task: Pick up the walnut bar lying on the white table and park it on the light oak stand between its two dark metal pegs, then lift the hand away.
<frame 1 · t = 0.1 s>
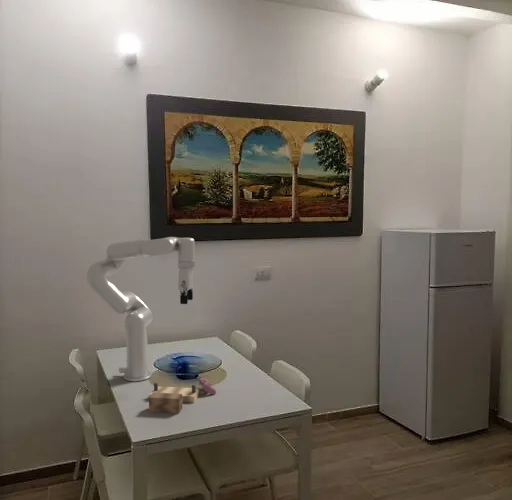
hand: (186, 301, 220), 37 cm above the table, tool pointing down, fingers open, 9 cm apart
peg stand: (174, 396, 202), on the table
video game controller: (206, 391, 209), on the table
walnut bar: (165, 410, 190), on the table
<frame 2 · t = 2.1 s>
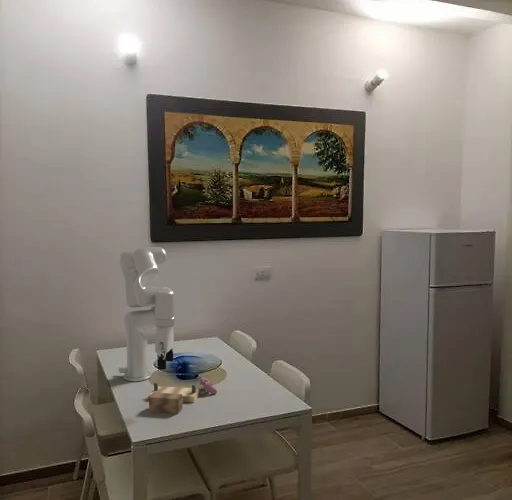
hand: (165, 364, 188), 18 cm above the table, tool pointing down, fingers open, 9 cm apart
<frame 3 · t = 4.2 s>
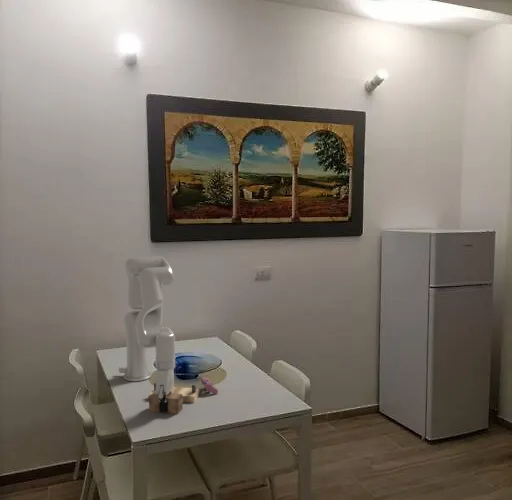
hand: (165, 408, 189), 1 cm above the table, tool pointing down, fingers closed on walnut bar, 5 cm apart
walnut bar: (165, 410, 189), on the table, touching gripper
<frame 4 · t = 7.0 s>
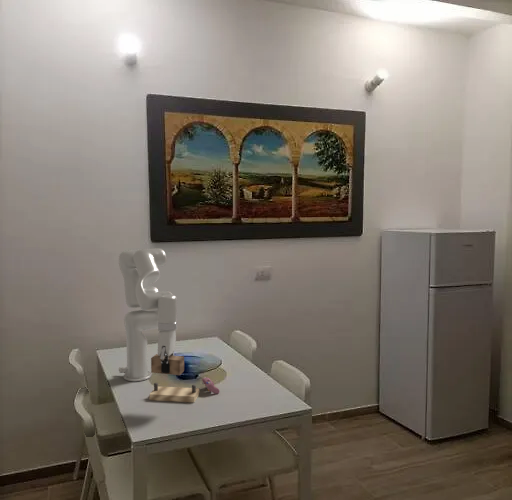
hand: (167, 369, 192), 15 cm above the table, tool pointing down, fingers closed on walnut bar, 5 cm apart
walnut bar: (167, 371, 192), point 14 cm above the table, touching gripper
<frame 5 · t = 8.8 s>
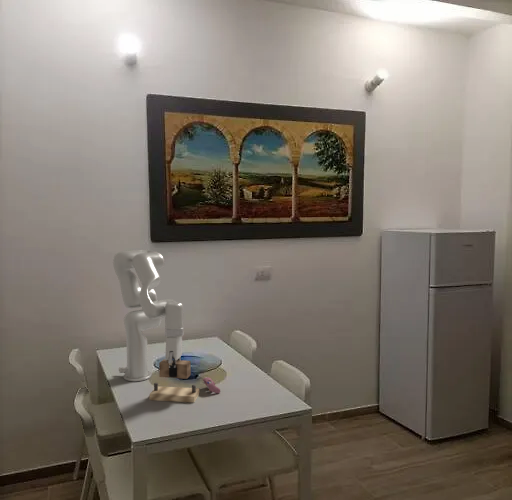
hand: (175, 373, 201), 10 cm above the table, tool pointing down, fingers closed on walnut bar, 5 cm apart
walnut bar: (175, 375, 201), point 9 cm above the table, touching gripper
when the fingers open (5 cm above the table, at t = 10.1 s): walnut bar drops 2 cm, resting on peg stand.
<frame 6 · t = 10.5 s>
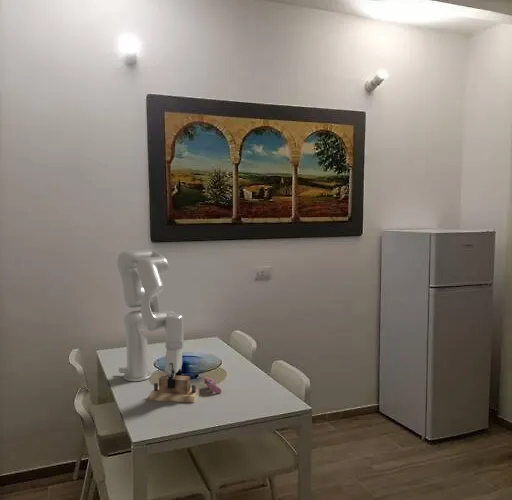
hand: (174, 383, 202), 6 cm above the table, tool pointing down, fingers open, 9 cm apart
walnut bar: (174, 391, 202), point 2 cm above the table, touching peg stand
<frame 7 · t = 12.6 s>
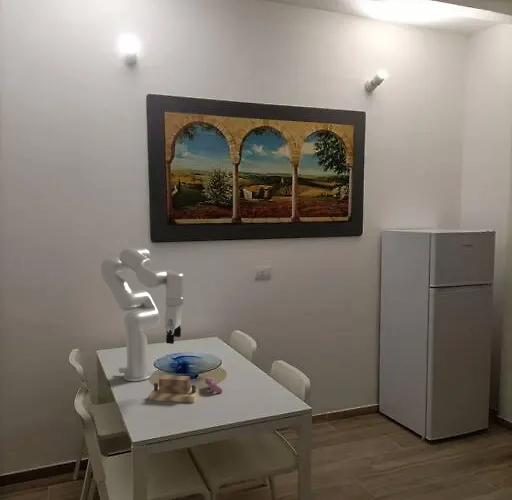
hand: (173, 340, 207), 23 cm above the table, tool pointing down, fingers open, 9 cm apart
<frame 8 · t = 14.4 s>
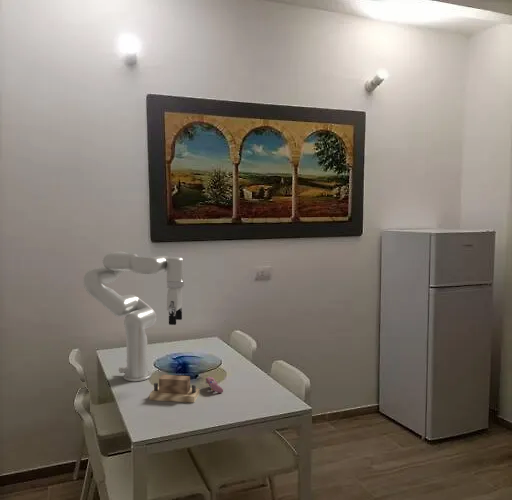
hand: (175, 322, 216), 28 cm above the table, tool pointing down, fingers open, 9 cm apart
at the end: walnut bar 0.0 cm off-centre on the peg stand, point 2.5 cm above the peg stand's base; walnut bar tilted 0°; the gripper is holding nothing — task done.
